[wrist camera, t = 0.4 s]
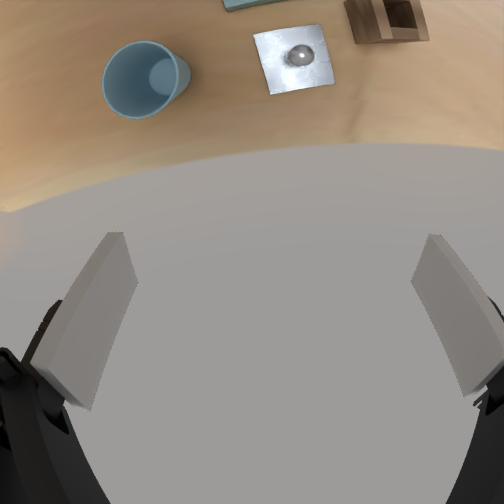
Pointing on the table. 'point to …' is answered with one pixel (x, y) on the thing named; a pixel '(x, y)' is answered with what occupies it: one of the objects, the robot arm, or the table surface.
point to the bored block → (386, 21)
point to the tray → (245, 3)
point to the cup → (143, 79)
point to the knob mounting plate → (294, 58)
